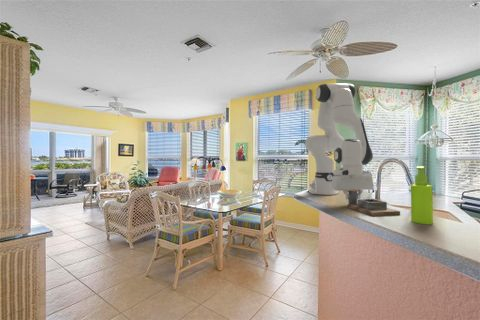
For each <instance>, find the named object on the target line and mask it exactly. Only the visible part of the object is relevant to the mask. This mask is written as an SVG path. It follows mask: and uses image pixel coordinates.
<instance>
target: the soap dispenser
mask: <svg viewBox="0 0 480 320" xmlns="http://www.w3.org/2000/svg"><path fill="white" fill-rule="evenodd" d="M425 168H426V167H425V165H417V166H416V170H417V174H416V175H414V183H413V184H411V185H410V209H411V210H410V217H411V219H410V220H411V222H412V223H416V224H421V225H433V224H434V220H433V219H434V212H433V211H434V207H433V206H434V201H433V199H434V198H433V194H434V193H433V185H431V184H429V183H428V180H429V179H428V175H426V174H425Z"/></svg>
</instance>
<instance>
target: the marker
mask: <svg viewBox="0 0 480 320" xmlns="http://www.w3.org/2000/svg"><path fill="white" fill-rule="evenodd" d="M347 193H348V195H349V196H350V199H347V201H348V202H347V203H348V204H358V199H357V193H358V191H357V189H353V190H348V192H347ZM348 204H347V205H348Z"/></svg>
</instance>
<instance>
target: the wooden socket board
mask: <svg viewBox="0 0 480 320" xmlns="http://www.w3.org/2000/svg"><path fill="white" fill-rule="evenodd" d="M357 201H358V204H347V208H348V209H351V210H354V211H356V212H360V213H363V214H365V215H368V216H371V217H384V216H401V211H400V210H397V209H395V208H391V207H388V206H387V205H388V204H387V203H388V202H387V201H384V200H380V199H377V198H360V199H357Z"/></svg>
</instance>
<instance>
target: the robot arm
mask: <svg viewBox="0 0 480 320" xmlns="http://www.w3.org/2000/svg"><path fill="white" fill-rule="evenodd" d="M355 95H356V88H355V85H354V84H352V83H343V82H342V83H340V82H339V83H338V82H336V83H323V84H319V85H318V86H317V87H316V91H315V98H316V100H317V101H318V102H320V104H319V107H318V113H317V114H318V116H317V126H318V128H319V129H320V130H322V131H324V135H323V134H321V135H320V134H319V135H311V136H310V135H309V136H307V138H306V139H305V142H304V146H305V149H306V150H308V152H310V153H311V155H312V156H313V158H314V159H315V169H316V172H315V174H314V175H315V176H314V179H313V180H312V181H311V182H310V183H309V187H310V188H308V189H307V190H308V191H309V193H310V194H313V195H323V196H324V195H325V196H326V195H327V196H329V195H330V196H331V195H332V196H334V195H337V194H340V192H341V191H342V193H343V195H345V200H348V199H350V196H349V195H348V190H353V189H357V200H358V199H361V195H362V194H363V193H364V191H366V190H369V191H370V190H373V189H374V180H373V174H372V172H370V171H369V170H363V166H366V165H368V164H370V162H372V160H373V158H374V157H373V156H374V155H373V150H372V148H371V146H370V143H369V139H368V134H367V132H366V128H365V124H364V121H363V119H362V118H361V116H358V114H357V113H356V110H355V102H354V97H355ZM337 124H338V125H340V126H343V127H345V128H348V129H350V130H352V131H353V132H354V134H355V138H347V139H344V136H342V135H340V133H339V131H338V128H337ZM326 152H333V159H332V157H330V156H328V155H327V153H326ZM335 162H336V163H337V164H338V165H342V167H340V168H337V169H335ZM308 191H307V192H308ZM339 191H340V192H339Z"/></svg>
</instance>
